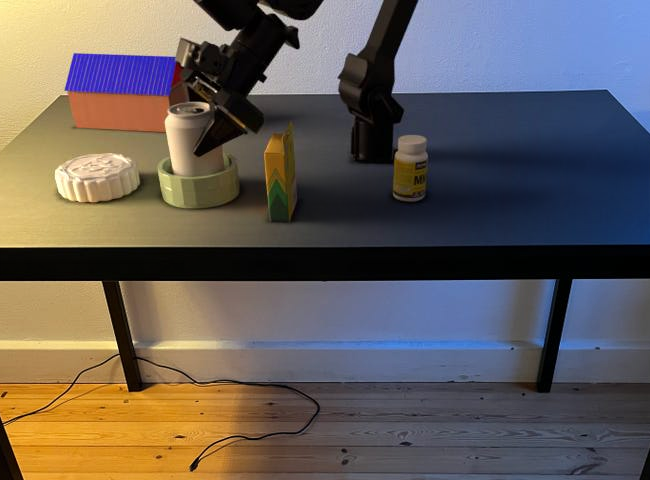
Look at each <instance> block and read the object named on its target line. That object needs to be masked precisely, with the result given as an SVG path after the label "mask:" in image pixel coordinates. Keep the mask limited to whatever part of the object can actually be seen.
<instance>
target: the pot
mask: <svg viewBox="0 0 650 480" xmlns="http://www.w3.org/2000/svg"><path fill="white" fill-rule="evenodd" d="M223 158H224V166H225V170H224V171H222V172H219V173H216V174H212V175H208V176H200V177H182V176H176V175H174V173H173V167H172V162H171V156H170V155H168V156H166V157H165V158H163V159H161V160H160V161H159V163H158V164H157V175H158V180H159V186H160V191H161V196H162V200H164V202H166V203H167V204H169V205H170V206H173V207H176V208H180V209H181V208H182V209H190V210H191V209H192V210H193V209H195V210H197V209H208V208H214V207H218V206H221V205H224V204H226V203H229V202H232V201H233V200H234V199H236V198H237V197H238V195H239V194H240V187H241V186H240V179H239V178H240V177H239V167H238V161H237V158H236V156H233V155H232V154H230V153H228V152H225V151H223Z"/></svg>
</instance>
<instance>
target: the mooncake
mask: <svg viewBox="0 0 650 480" xmlns="http://www.w3.org/2000/svg"><path fill="white" fill-rule="evenodd" d="M139 173H140V172H139V170H138V163H137V161H136V160H134V159H133V158H132V157H129V156H126V155H124V154H121V153H113V152H105V153H99V154H97V153H96V154H84V155H81V156H75V157H73V158H72V159H70V160H67V161H66V162H65V163H62V164H60V165H59V166H58V167H57V168H56V169H55V174H54V178H55V182H56V186H57V190H58V193H59V194H60V195H61V197H63V199H68V200H69V201H71V202H76V201H78V202H79V203H89V202H90V203H98V202H109V201H111V200H114V199H115V200H116V199H120V198H122V197H123V196H128V195H130V194H131V193H132V192H134V191H136V190H137V189H138V186H140V184H141V180H140V178H141V177H140V174H139Z"/></svg>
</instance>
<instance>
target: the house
mask: <svg viewBox="0 0 650 480" xmlns="http://www.w3.org/2000/svg"><path fill="white" fill-rule="evenodd" d="M174 60H175V56H171V55H170V56H169V55H167V56H166V55H165V56H164V55H139V54H138V55H136V54H110V53H79V52H73V55H72V58H71V62H70V66H69V69H68V74H67V79H66V83H65V86H64V92H67V97H68V101H69V105H70V109H71V113H72V118H73V121H74V127H75V128H80V129H100V130H101V129H102V130H120V131H137V132H139V131H140V132H155V133H156V132H158V133H159V132H160V133H166V127H165V120H166V118H167V117H168V115H169V113H168V112H167V111H168V109H169V108H170V107H171V106H174V105H176V104H180V103H185V101H186V97H185V92H184V88H183V86H182V82H184V83H185V84H186V85H187V84H188V83H187V82H186V81H185V80H183V79H182V78H181V77H180V76H179V75H180V74H181V72H182V71H183V69H184V67H182V66H181V64H180V63H179V62H175V61H174Z"/></svg>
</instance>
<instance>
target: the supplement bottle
mask: <svg viewBox="0 0 650 480" xmlns="http://www.w3.org/2000/svg"><path fill="white" fill-rule="evenodd" d="M427 143H428V141H427V138H426V137H425V136H423V135H418V134H405V135H402V136H400V137H398V140H397V151H396V152H395V154H394V161H393V163H394V165H393V166H394V167H393V184H392V195H393V197H394V198H395V199H396V200H399V201H402V202H409V203H411V202H417V201H418V202H419V201H420V200H423V199H424V198H425V196H426V186H427V175H428V174H427V173H428V161H429V155H428V152H427V151H426V150H427V146H428V145H427Z"/></svg>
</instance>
